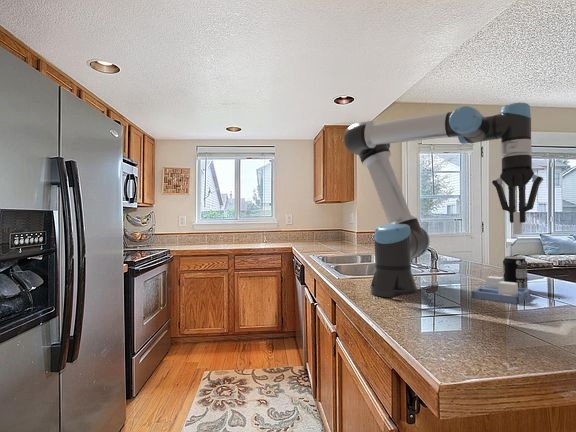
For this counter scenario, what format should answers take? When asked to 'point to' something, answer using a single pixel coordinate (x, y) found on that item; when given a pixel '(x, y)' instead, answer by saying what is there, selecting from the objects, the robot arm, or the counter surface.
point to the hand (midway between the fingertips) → (517, 233)
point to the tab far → (493, 281)
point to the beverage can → (515, 270)
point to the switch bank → (500, 295)
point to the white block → (508, 288)
